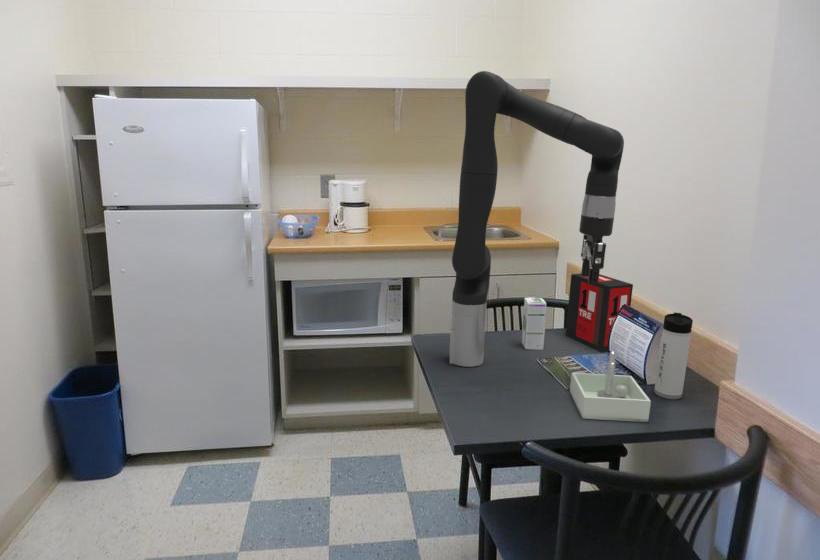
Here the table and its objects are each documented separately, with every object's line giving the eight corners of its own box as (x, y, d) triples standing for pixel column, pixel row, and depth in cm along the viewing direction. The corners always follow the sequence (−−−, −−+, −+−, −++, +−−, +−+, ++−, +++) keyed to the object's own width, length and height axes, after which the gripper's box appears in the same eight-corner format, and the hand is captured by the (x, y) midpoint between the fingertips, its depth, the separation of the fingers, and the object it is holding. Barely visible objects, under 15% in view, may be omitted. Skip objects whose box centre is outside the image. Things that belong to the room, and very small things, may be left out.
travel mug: (680, 390, 144) (691, 314, 140) (683, 401, 138) (695, 321, 133) (653, 386, 146) (663, 310, 141) (654, 397, 140) (665, 318, 135)
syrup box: (543, 350, 170) (548, 302, 167) (523, 349, 170) (527, 301, 167) (539, 343, 176) (543, 297, 172) (520, 342, 176) (524, 296, 172)
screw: (614, 399, 137) (620, 408, 132) (593, 398, 137) (598, 407, 132) (620, 347, 134) (627, 354, 129) (599, 346, 134) (604, 353, 129)
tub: (582, 418, 128) (584, 397, 127) (569, 391, 142) (571, 372, 141) (648, 422, 127) (650, 401, 126) (628, 395, 141) (631, 375, 140)
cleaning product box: (625, 349, 173) (633, 284, 168) (602, 352, 169) (609, 286, 165) (587, 332, 188) (593, 272, 183) (565, 335, 184) (571, 274, 179)
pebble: (616, 399, 137) (617, 387, 136) (612, 393, 140) (613, 382, 139) (628, 400, 137) (630, 388, 136) (625, 394, 140) (626, 383, 139)
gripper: (576, 209, 145) (568, 272, 149) (587, 217, 131) (578, 286, 135) (606, 211, 145) (598, 274, 148) (621, 219, 131) (611, 288, 135)
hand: (589, 280), depth 142 cm, fingers open, 8 cm apart
